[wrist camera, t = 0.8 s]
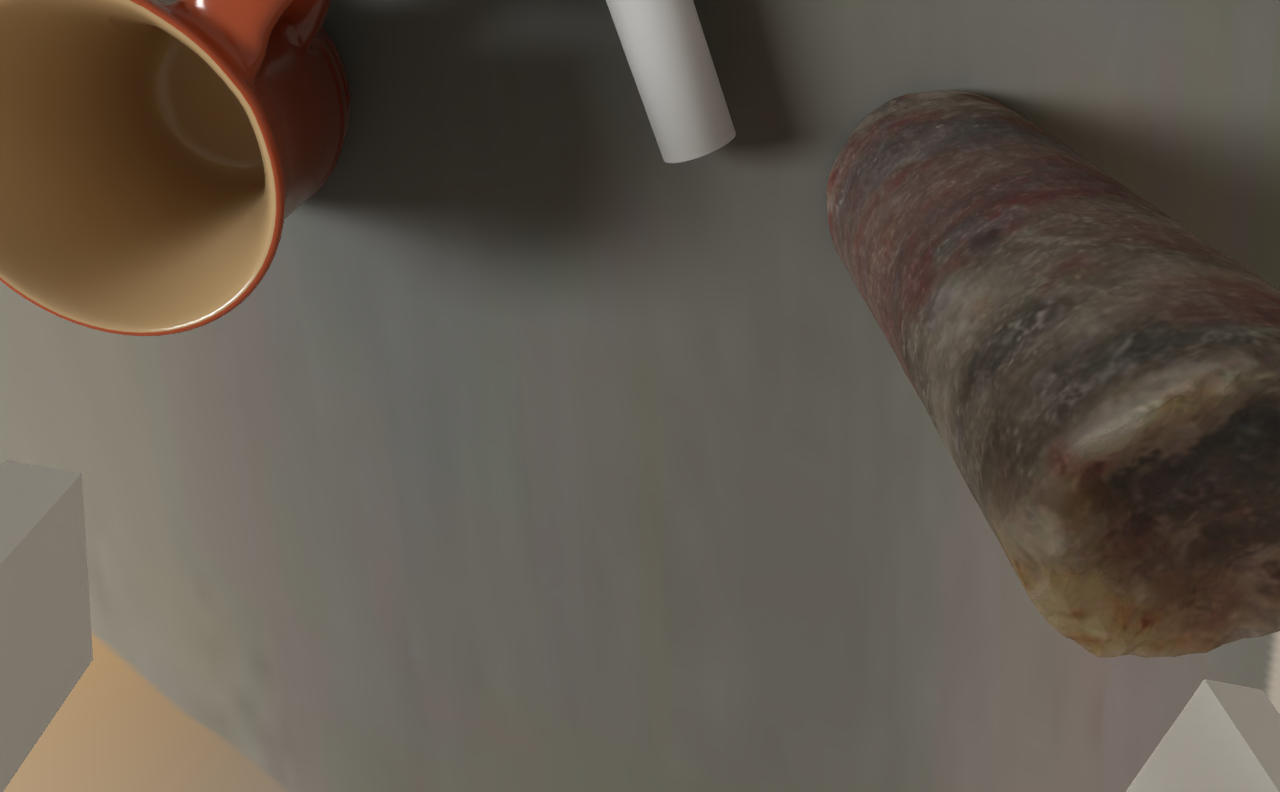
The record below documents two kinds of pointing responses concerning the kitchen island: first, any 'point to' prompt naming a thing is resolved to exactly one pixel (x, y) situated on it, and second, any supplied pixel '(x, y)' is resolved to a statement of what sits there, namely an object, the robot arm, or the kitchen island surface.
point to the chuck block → (674, 76)
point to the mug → (159, 151)
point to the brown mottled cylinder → (1076, 370)
